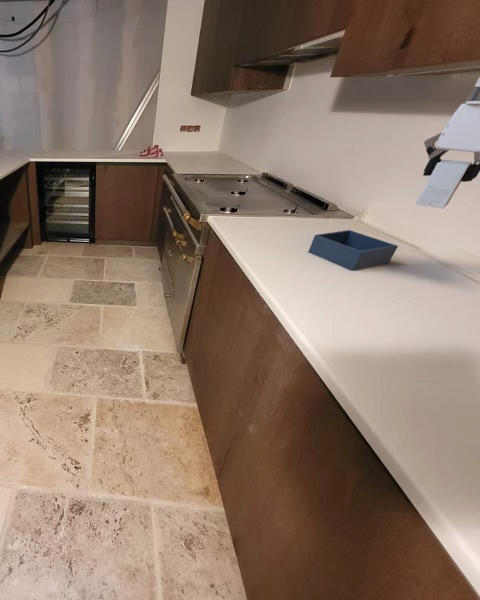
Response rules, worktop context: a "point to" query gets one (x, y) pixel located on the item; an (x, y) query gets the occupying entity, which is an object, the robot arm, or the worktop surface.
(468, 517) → the worktop surface
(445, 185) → the small box
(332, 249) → the tray
